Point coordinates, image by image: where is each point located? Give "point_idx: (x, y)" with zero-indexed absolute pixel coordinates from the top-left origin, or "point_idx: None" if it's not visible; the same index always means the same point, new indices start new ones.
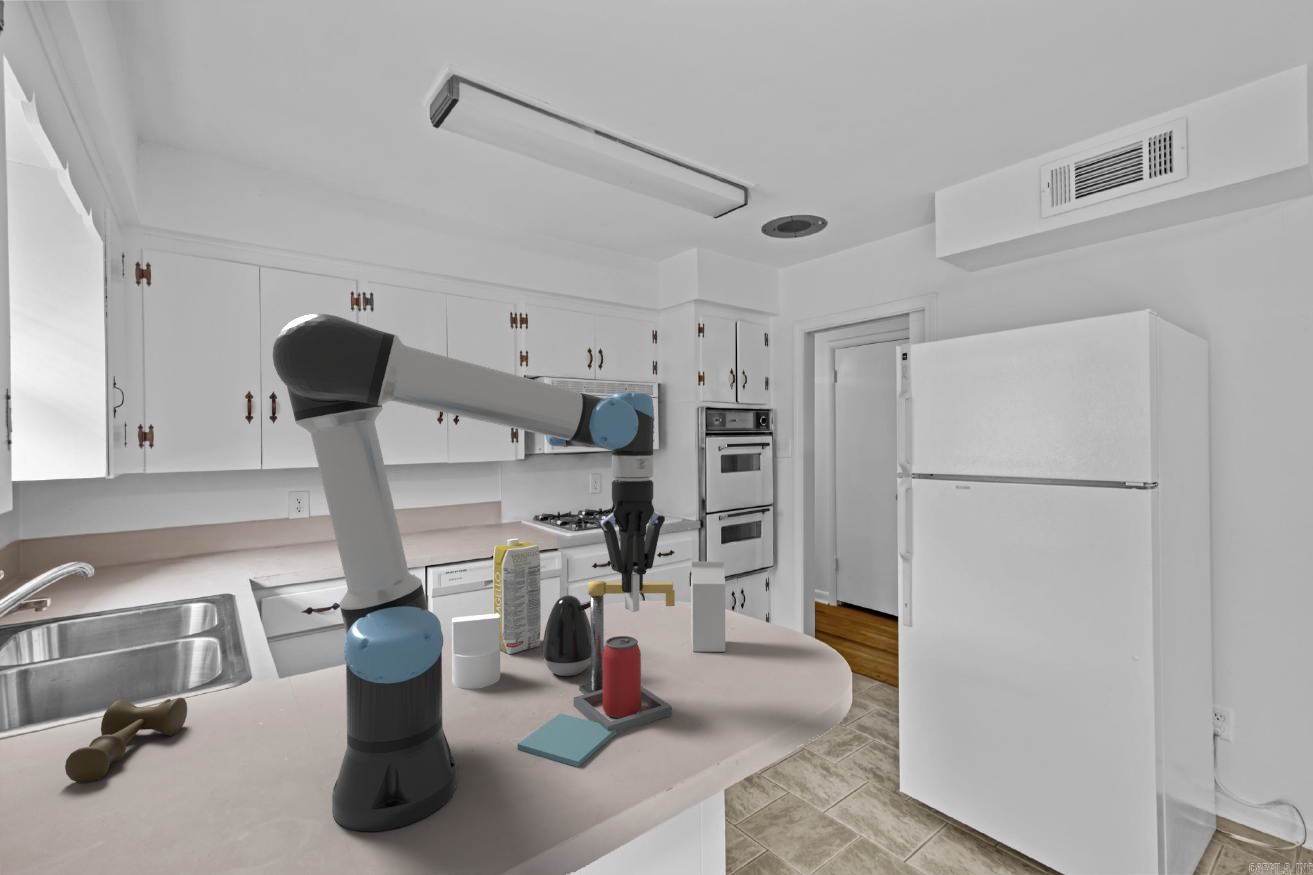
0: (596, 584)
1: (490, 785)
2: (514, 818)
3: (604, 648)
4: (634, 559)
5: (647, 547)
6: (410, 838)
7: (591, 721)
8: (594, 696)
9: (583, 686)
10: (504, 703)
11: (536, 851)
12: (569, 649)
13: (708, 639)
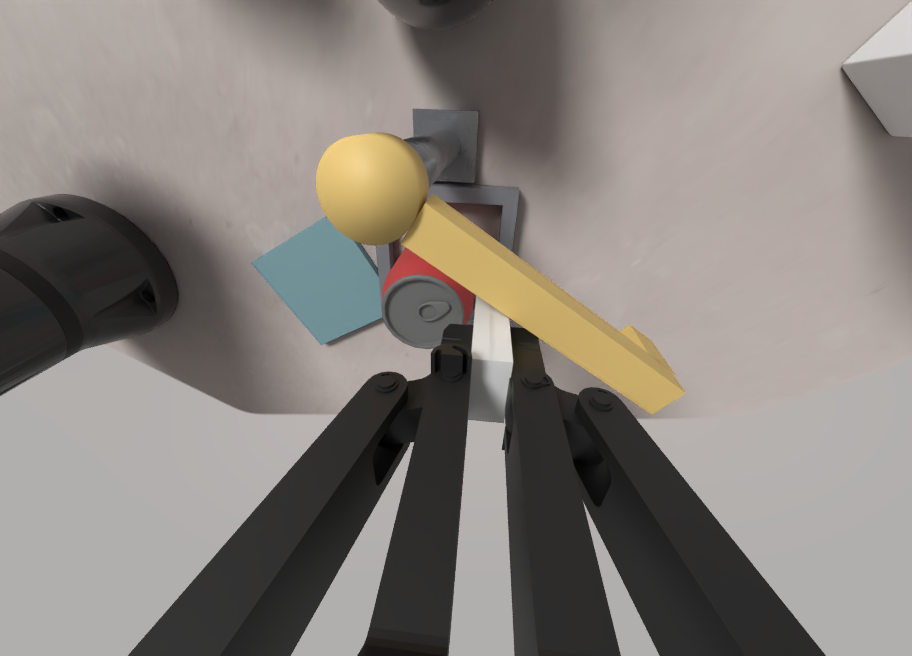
0: (350, 228)
1: (219, 313)
2: (244, 371)
3: (385, 286)
4: (512, 448)
5: (630, 547)
6: (148, 342)
7: (373, 271)
8: None
9: (419, 120)
10: (241, 64)
11: (259, 410)
12: (394, 6)
13: (905, 99)
